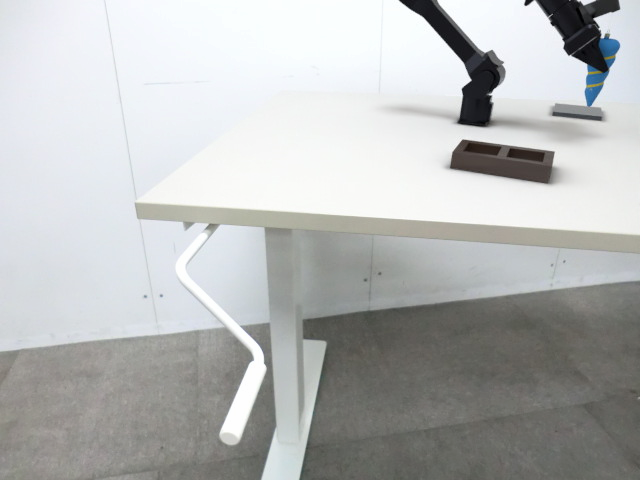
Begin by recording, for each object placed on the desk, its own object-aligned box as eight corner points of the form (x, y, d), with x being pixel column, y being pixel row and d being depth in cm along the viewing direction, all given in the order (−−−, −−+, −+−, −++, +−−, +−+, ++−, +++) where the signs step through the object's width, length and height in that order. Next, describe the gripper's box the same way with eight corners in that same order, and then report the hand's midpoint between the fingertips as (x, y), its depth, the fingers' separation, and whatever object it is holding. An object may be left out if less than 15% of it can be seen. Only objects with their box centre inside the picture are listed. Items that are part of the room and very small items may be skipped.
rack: (548, 183, 79) (552, 166, 78) (449, 168, 85) (452, 151, 84) (550, 167, 86) (554, 151, 85) (460, 154, 92) (462, 139, 91)
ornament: (607, 107, 101) (630, 30, 94) (593, 110, 99) (615, 31, 92) (583, 102, 105) (604, 28, 98) (569, 105, 103) (589, 29, 95)
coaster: (552, 115, 121) (553, 111, 121) (554, 106, 130) (555, 103, 130) (601, 120, 117) (602, 116, 117) (600, 111, 126) (601, 107, 125)
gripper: (601, -26, 85) (653, 46, 86) (600, -24, 99) (644, 37, 100) (543, 21, 91) (591, 87, 92) (550, 16, 106) (591, 73, 107)
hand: (606, 69), depth 98 cm, fingers closed on ornament, 5 cm apart
